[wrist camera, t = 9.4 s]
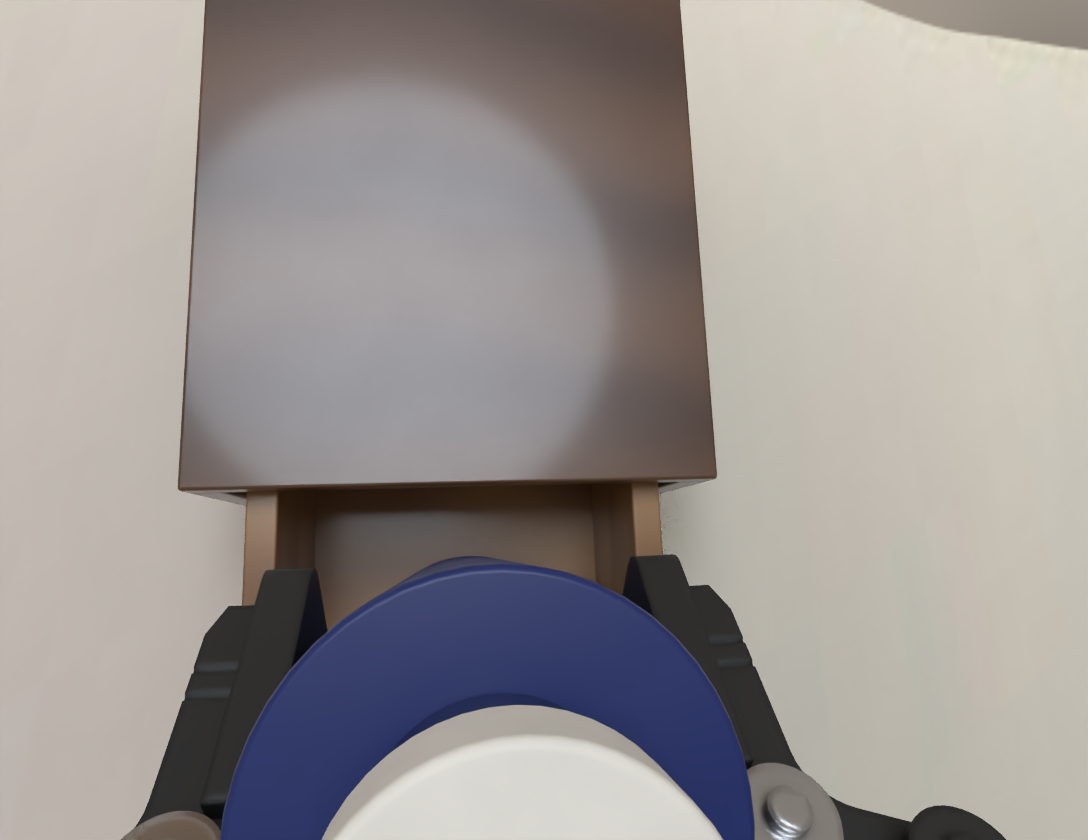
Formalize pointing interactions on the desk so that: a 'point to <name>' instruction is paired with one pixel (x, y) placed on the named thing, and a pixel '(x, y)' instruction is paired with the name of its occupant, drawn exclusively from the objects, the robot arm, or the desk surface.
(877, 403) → the desk surface
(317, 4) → the cabinet
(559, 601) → the bottle
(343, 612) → the drawer
